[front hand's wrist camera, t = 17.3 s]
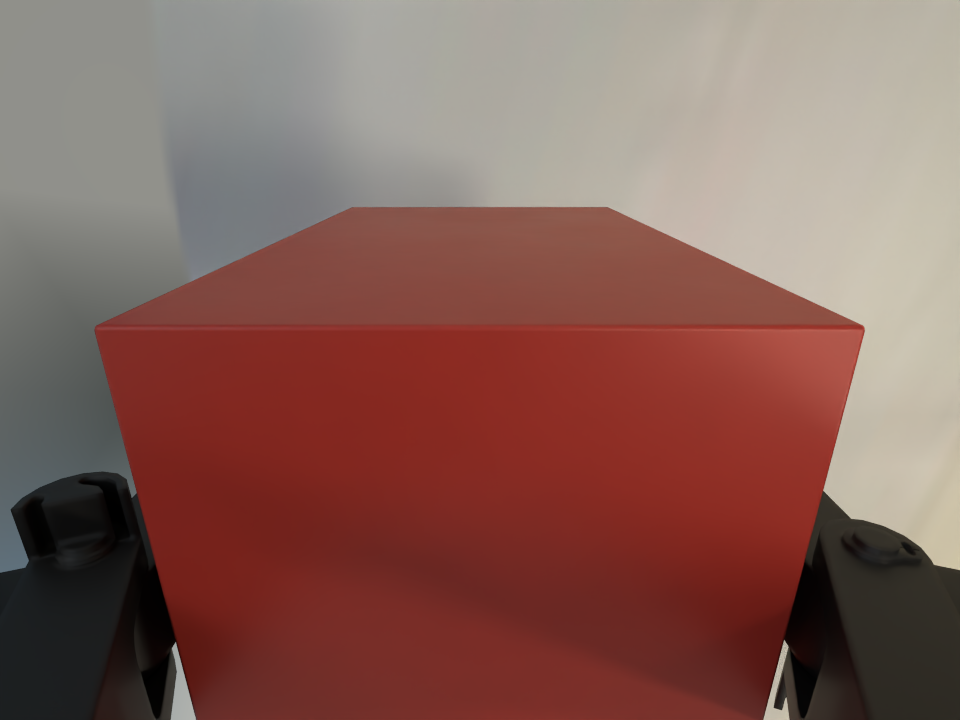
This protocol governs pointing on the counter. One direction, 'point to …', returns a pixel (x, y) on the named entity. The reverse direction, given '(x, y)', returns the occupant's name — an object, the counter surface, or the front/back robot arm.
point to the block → (479, 468)
